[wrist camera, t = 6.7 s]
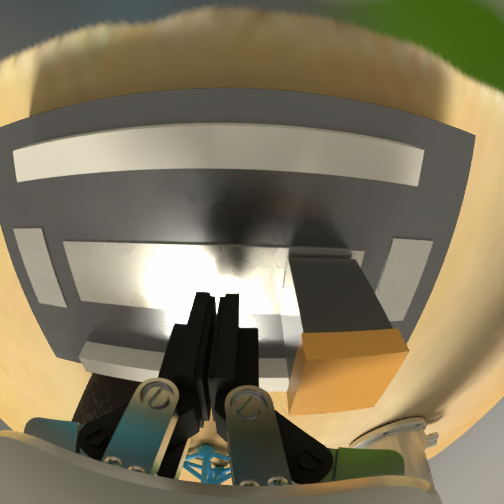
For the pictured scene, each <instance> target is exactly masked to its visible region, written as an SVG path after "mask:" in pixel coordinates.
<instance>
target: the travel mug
mask: <svg viewBox="0 0 504 504" xmlns="http://www.w3.org/2000/svg"><path fill="white" fill-rule="evenodd" d="M141 383H142V382H139V381H133V380H127V379H122V378H116V377H111V376H106V375H101V374H97V373H93V374H92V376H91V378H90V380H89V382H88V384H87V386H86V389H85V391H84V393H83V395H82V398H81V400H80V402H79V404H78V407H77V409H76V411H75V414H74V416H73V419H72V421H71V422H79V424H80V425H85V424H87V423H88V422H90V421H93V420H95V419H97V418H99V417H101V416H103V415H105V414H107V413H109V412H111V411H113V410H115V409H117V408H119V407H121V406H123V405H125V404H127V403H129V402H130V401H131V399H132V397H133V395H134V393H135V391H136V389H137V388H138V386H139V385H140V384H141Z"/></svg>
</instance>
